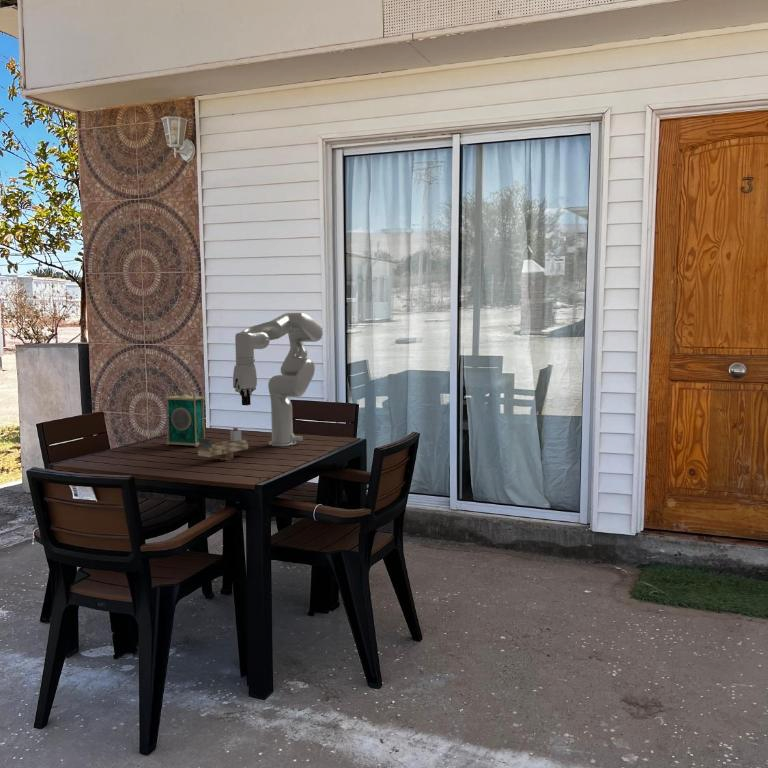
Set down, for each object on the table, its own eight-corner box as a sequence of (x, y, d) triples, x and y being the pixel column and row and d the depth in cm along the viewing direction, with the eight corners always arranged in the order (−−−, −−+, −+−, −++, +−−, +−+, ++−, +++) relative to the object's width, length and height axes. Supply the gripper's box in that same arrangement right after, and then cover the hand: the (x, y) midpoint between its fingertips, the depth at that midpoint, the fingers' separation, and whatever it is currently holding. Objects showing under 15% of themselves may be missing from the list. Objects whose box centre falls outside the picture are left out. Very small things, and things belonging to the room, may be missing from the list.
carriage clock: (165, 446, 345) (162, 380, 342) (176, 442, 353) (174, 378, 350) (196, 447, 339) (194, 381, 336) (207, 444, 347) (205, 379, 344)
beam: (237, 454, 323) (236, 430, 322) (249, 455, 319) (248, 432, 318) (197, 462, 305) (196, 438, 304) (209, 464, 301) (208, 439, 300)
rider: (237, 443, 320) (237, 427, 319) (241, 443, 318) (241, 427, 317) (230, 444, 316) (230, 428, 316) (234, 445, 315) (234, 428, 314)
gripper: (251, 360, 328) (252, 402, 329) (225, 362, 315) (226, 406, 317) (264, 361, 323) (265, 403, 325) (238, 363, 311) (239, 407, 313)
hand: (246, 404), depth 321 cm, fingers closed
